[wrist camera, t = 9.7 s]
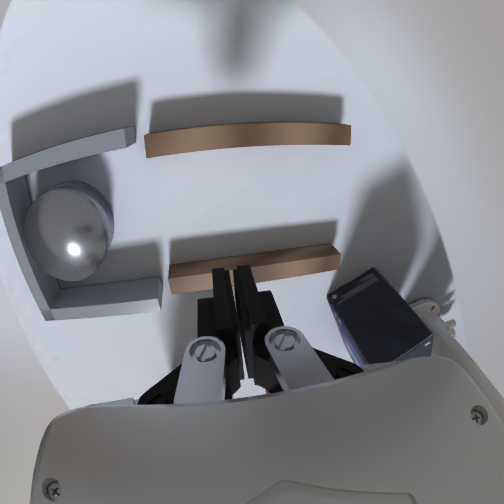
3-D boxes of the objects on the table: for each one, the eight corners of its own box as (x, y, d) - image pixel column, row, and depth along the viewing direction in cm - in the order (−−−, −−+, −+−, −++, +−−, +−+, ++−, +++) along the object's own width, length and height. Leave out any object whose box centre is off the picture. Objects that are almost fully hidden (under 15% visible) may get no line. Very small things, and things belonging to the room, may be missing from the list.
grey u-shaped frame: (134, 126, 16) (123, 128, 14) (163, 288, 23) (161, 310, 20) (12, 161, 14) (-9, 170, 12) (55, 300, 21) (45, 320, 18)
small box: (321, 296, 27) (372, 375, 18) (374, 264, 27) (437, 329, 18) (343, 348, 32) (380, 412, 23) (385, 322, 32) (429, 380, 23)
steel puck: (103, 171, 17) (90, 180, 15) (124, 254, 21) (116, 274, 18) (31, 192, 16) (13, 204, 14) (56, 267, 20) (43, 286, 17)
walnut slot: (337, 123, 19) (351, 125, 17) (329, 257, 25) (338, 269, 23) (148, 133, 17) (144, 135, 15) (172, 280, 23) (171, 294, 21)
